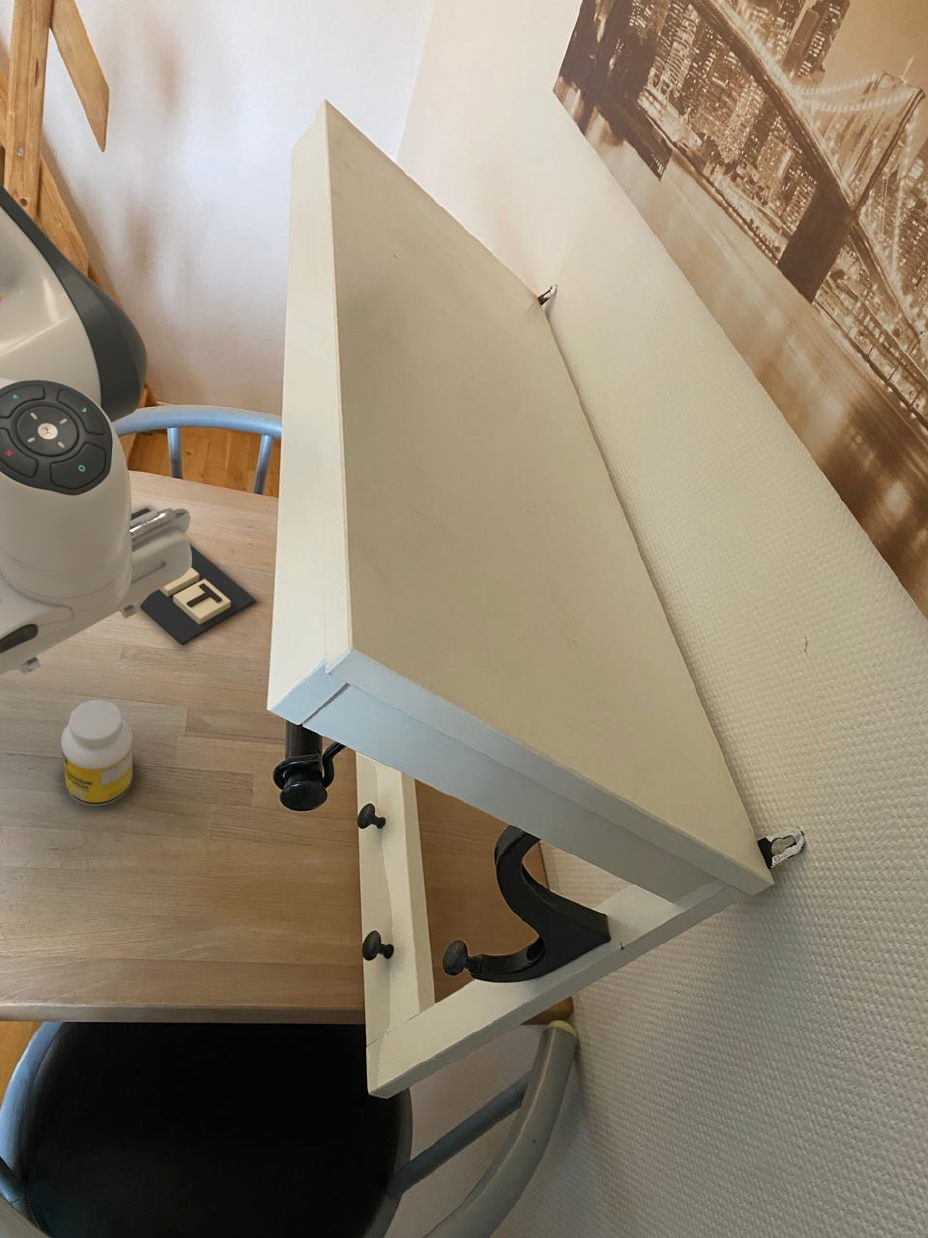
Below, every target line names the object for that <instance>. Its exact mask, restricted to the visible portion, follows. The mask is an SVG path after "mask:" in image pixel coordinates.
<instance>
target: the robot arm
mask: <svg viewBox="0 0 928 1238" xmlns="http://www.w3.org/2000/svg"><path fill="white" fill-rule="evenodd" d="M0 294H1V296H2V299H1V301H0V676H2V675H5V674H6V673H8V672H10V671H19V672H20V674H21V675H22V676H25V675H28V673H31V672H33V671H34V670H36V669H39V668H40V666H41V664H40V661H39V658H37V656H39V655H41V654H43V653H45V652H46V651H48V650H50V649H52V648H55V646H58V645H59V644H62V643H63V642H65V641H66V640H69V639H70V638H72V637H74V636H75V635H78V634H79V633H82V632H83V631H85V630H87V629H88V628H91V627H92V626H94V625H96V624H97V623H99V622H102V621H103V620H105V619H107V618H109V617H111V616H113V615H114V614H117V613H121V616H122V617H123V619H128V618H131V617H132V616H133V615H136V614H137V613H139V612H141V608H140V604H142V603H143V602H144V600H145V599H146V598H147V597H148V596H149V595H150V594H151V593H153V592H155V591H157V590H158V589H160V588H162V587H164V586H166V585H168V584H169V583H171V582H173V581H175V580H177V579H179V578H181V577H182V576H183V575H184V574H185V573H186V572H187V571H188V570H189V569H190V567H191V565H192V554H191V548H190V545H191V544H190V541H189V540H188V538H187V537H186V535H185V534H186V532H188V529H189V528H190V523H191V515H190V513H189V511H188V510H187V509H186V508H185V507H180V508H176V509H173V508H171V507H168V508H164V509H162V510H161V509H160V510H159V509H158V510H152V511H151V512H149V513H146V514H144V515H142V516H140V517H138V518H136V519H134V520H131V514H133V513H132V512H133V511H132V507H133V506H132V486H131V479H130V472H129V468H128V463H127V459H126V456H125V452H124V449H123V446H122V443H121V441H120V438H119V435H118V434H117V431H116V429H115V426H114V425H113V423H115V422H117V421H118V420H121V419H123V418H125V417H127V416H129V415H132V414H133V413H135V411H136V410H137V409H138V407H139V404H140V402H141V398H142V397H143V396H142V395H143V392H144V388H145V384H146V379H147V371H148V354H147V349H146V345H145V344H144V340H143V338H142V337H141V335H140V333H139V331H138V329H137V328H136V326H135V324H134V322H133V321H132V320H131V319H130V317H129V316H128V315H127V314H126V312H125V311H124V310H123V309H122V308H121V307H120V306H119V305H118V304H117V302H115V301H114V300H113V299H112V297H110V296H109V295H108V293H107V292H105V291H104V289H102V288H100V287H99V285H98V284H96V282H94V281H93V280H92V279H91V278H89V277H88V276H87V275H86V274H85V273H84V272H83V271H81V270H80V269H79V268H78V267H77V266H76V265H75V264H74V263H73V262H72V261H71V260H70V259H69V258H68V257H67V256H66V255H65V254H64V253H63V252H62V251H61V250H60V249H59V247H58V246H56V244H55V243H54V242H53V241H52V240H51V238H50V237H49V236H48V235H47V234H46V233H45V232H44V231H43V230H42V229H41V228H40V226H39V225H38V224H37V223H36V222H35V221H34V219H32V217H31V216H30V215H29V214H28V213H27V212H26V211H25V209H24V208H23V207H22V206H21V205H20V204H19V202H18V201H16V199H15V198H14V197H13V196H12V194H10V192H9V191H8V190H7V189H6V188H5V187H4V186H3V184H2V183H1V182H0Z"/></svg>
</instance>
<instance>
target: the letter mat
mask: <svg viewBox="0 0 928 1238" xmlns="http://www.w3.org/2000/svg"><path fill="white" fill-rule="evenodd" d="M149 512H152V511H151V510H150V509H149V508H148V507H145V508H143V509H141V510H138V511H135V512H133V513H131V520H134V519H136V518H138V517H140V516H142V515H144V514H146V513H149ZM190 548H191V554H192V565H191V567H190V569H189V570H188V571H187V572H186V573H185V574H184V575H183V576H182V577H181V578H179V579H177V580H175V581H173V582H171V583H169V584H168V585H166V586H164V587H162V588H160V589H158V590H157V591H155V592H153V593H151V594H150V595H149V596H148V597H147V598H146V599H145V600H144V602H143V603H142V604H140V610H141V611H142V612H143V613H145V614H146V615H147V616H148V617H149V618H151V620H153V621H154V623H156V624H157V625H158V626H159V627H160V628H162V629H163V631H165V632H166V633H167V634H168V635H170V636H171V637H172V638H173V639H174V640H175V641H176V642H177V643H178V644H180V645H181V646H184V645H186V644H187V643H189V642H191V641H192V640H194V639H196V638H198V637H199V636H201V635H203V634H204V633H207V632H208V631H209V630H210V629H213V628H214V627H216V626H218V625H220V624H221V623H223V622H224V621H226V620H229V618H231V617H233V616H235V615H236V614H238V613H240V612H242V611H244V610H245V609H247V608H248V607H250V606H251V605H253V604H255V603H256V601H257V600H256V599H255V598H254V597H253V596H252V595H251V594H249V592H247V591H246V590H245V589H244V588H242V587H241V586H240V585H239V584H237V583H236V582H235V580H233V579H232V578H231V577H229V575H227V573H224V572H223V570H221V568H219V567H218V566H216V564H215V563H213V562H212V561H210V559H208V558H207V557H206V556H204V555H203V554H202V553H201V552H200V551H199V550H198V549H197V548H195V546H193V545H192V544H190Z"/></svg>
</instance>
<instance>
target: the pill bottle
mask: <svg viewBox="0 0 928 1238" xmlns="http://www.w3.org/2000/svg"><path fill="white" fill-rule="evenodd" d="M60 740H61V741H60V747H61V754H62V762H63V770H64V779H65V780H64V781H65V785H66V789H67V791H68V793H69V794H70V796H71V797H72V799H74V800H76V801H77V802H78V803H80V804H83V805H88V806H104V805H107V804H111V803H114V802H115V801H117V800H119V799H120V798H121V797H122V796H124V795H125V794H126V793H127V792H128V790H129V788H130V787H131V784H132V781H133V733H132V729H131V727H130V725H129V723H128V722H127V721H126V720H125V718H123V714H122V711H121V710H120V708H119V707H118V706H117V705H116V704H114V703H112V702H111V701H108V700H102V699H92V700H88V701H85V702H83V703H81V704H79V705H77V706H76V707H75V708H74V709H73V711H72V712H71V714H70V716H69V722H68V724H67V725H66V726H65V728H64V730H63V732H62V735H61V739H60Z"/></svg>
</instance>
